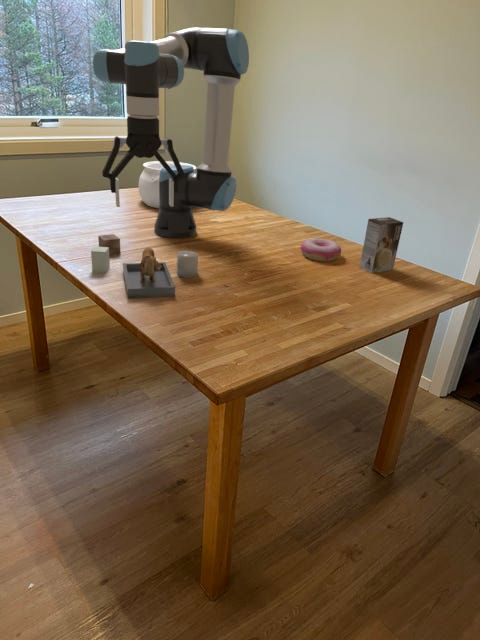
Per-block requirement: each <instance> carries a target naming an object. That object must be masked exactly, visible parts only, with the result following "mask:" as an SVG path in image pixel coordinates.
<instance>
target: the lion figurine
mask: <svg viewBox="0 0 480 640" xmlns="http://www.w3.org/2000/svg"><path fill="white" fill-rule="evenodd" d="M156 257H157V256H155V251H154V249H153V248H152V247H146V248H144V250H143V251H142V255H141V261H140V262H139V263H140V270H141V280H140V282H141V283H144V282H145V277H144V275H145V276H150V277H149V280H150V282H154V281H155V280H154V279H153V275H154V273H155V271H157V272H159V270H160V269H161V267H162V266H161V265H160V264H159V263H158V262H159V261H157V258H156Z"/></svg>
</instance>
